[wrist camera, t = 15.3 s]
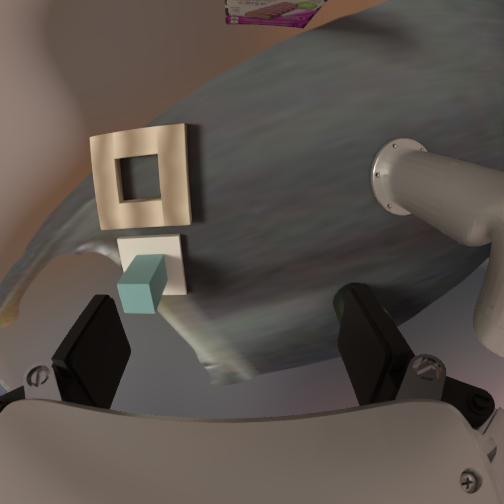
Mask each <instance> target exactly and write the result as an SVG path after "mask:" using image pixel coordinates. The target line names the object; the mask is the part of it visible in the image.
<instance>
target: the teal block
mask: <svg viewBox="0 0 504 504" xmlns="http://www.w3.org/2000/svg"><path fill="white" fill-rule="evenodd" d="M167 281H168V278H167V272H166V265H165V259H164V254H147V255H136V256H135V258H134V259H133V261H132V262H131V264H130V265H129V266H128V268H127V269H126V271H125V272H124V274H123V275H122V277H121V279H120V280H119V282H118V283H117V287H118V291H119V295H120V298H121V302H122V306H123V309H124V313H156V310H157V307H158V305H159V302H160V299H161V297H162V294H163V291H164V289H165V286H166V283H167Z"/></svg>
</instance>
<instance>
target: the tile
mask: <svg viewBox="0 0 504 504" xmlns="http://www.w3.org/2000/svg"><path fill="white" fill-rule="evenodd" d="M117 241H118V247H119V252H120V257H121V262H122V266H123V271H124V272H125V271H126V269H127V268H128V266H129V265H130V264H131V262H132V261H133V259H134V258H135V256H136V255H147V254H164V259H165V265H166V272H167V278H168V281H167V283H166V286H165V289H164V291H163V294H162V295H186V294H187V287H186V280H185V272H184V264H183V256H182V247H181V238H180V234H166V235H146V236H127V237H119V238H118V239H117Z"/></svg>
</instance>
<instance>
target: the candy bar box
mask: <svg viewBox="0 0 504 504" xmlns="http://www.w3.org/2000/svg"><path fill="white" fill-rule="evenodd" d="M326 1H327V0H225V20H226V24H259V25H275V26H287V27H297V28H304V27H305V26H306V25H307V23H308V22H309V21H310V20H311V19H312V17H313V16H314V15H315V14H316V13H317V12H318V10H319V9H320V8H321V6H323V5H324V4H325V2H326Z"/></svg>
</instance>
